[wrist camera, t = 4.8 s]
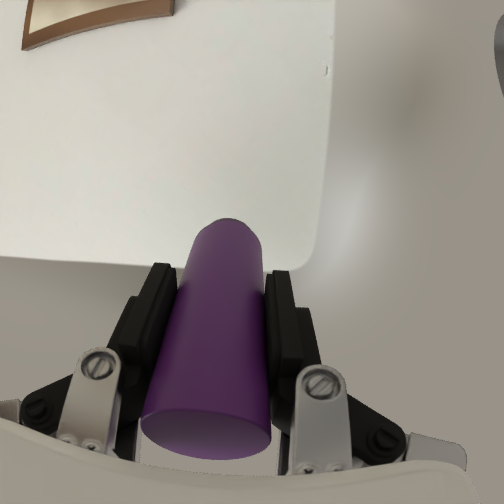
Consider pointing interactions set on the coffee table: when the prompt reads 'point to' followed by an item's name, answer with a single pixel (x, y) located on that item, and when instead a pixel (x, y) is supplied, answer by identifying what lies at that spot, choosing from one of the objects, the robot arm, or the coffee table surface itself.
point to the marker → (214, 353)
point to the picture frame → (83, 17)
